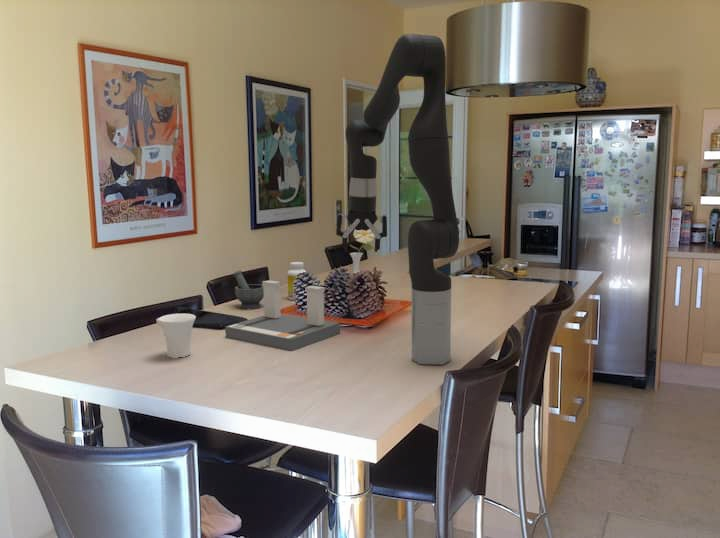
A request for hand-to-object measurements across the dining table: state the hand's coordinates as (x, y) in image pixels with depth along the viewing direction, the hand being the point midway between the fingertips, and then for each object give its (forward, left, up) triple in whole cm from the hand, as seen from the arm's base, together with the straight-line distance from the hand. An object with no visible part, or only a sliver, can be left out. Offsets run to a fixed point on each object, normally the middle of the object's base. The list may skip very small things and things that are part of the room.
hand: (360, 250), depth 178 cm
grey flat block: (-11, +21, -22) cm, 32 cm away
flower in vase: (+54, +6, -22) cm, 59 cm away
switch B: (-3, +25, -19) cm, 32 cm away
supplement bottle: (+37, +26, -22) cm, 50 cm away
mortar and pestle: (+24, +40, -22) cm, 52 cm away
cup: (-31, +43, -22) cm, 57 cm away
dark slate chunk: (+3, +47, -23) cm, 52 cm away
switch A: (-11, +12, -19) cm, 25 cm away
